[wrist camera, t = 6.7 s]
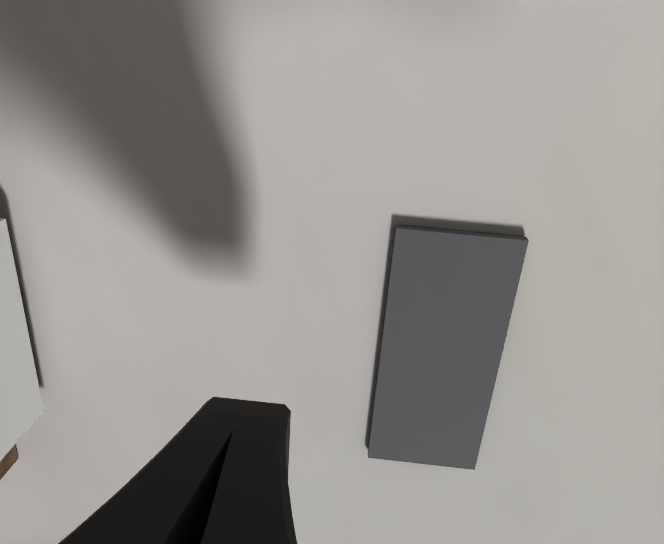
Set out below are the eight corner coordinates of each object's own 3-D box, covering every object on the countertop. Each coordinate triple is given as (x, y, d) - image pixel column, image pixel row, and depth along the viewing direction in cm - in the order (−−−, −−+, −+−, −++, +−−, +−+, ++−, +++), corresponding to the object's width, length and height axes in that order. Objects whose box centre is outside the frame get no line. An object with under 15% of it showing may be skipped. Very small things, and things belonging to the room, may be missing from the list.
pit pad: (473, 463, 13) (474, 470, 13) (367, 451, 14) (367, 457, 13) (526, 236, 11) (528, 240, 11) (395, 224, 11) (395, 228, 11)
